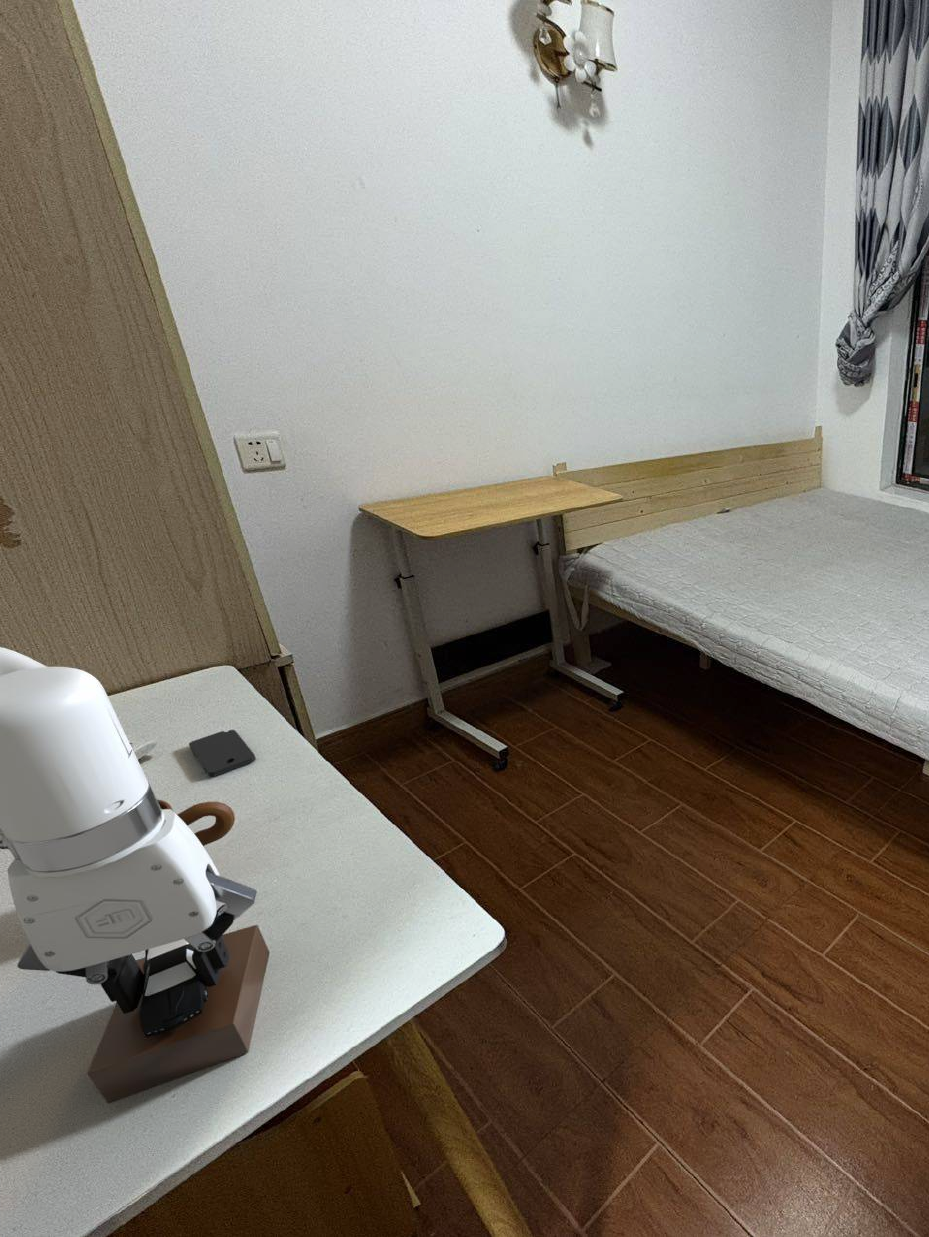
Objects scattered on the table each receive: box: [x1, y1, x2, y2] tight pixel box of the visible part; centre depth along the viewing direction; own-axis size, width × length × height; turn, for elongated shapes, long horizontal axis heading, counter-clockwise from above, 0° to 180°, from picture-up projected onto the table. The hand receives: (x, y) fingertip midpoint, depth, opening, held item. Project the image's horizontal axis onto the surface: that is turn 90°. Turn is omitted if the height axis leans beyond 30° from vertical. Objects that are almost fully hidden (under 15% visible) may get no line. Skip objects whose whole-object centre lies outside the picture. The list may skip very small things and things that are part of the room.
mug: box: [157, 799, 236, 847], centre depth 71 cm, size 12×8×9 cm, turn 124°
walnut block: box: [86, 924, 270, 1104], centre depth 59 cm, size 9×11×4 cm
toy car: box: [137, 939, 208, 1038], centre depth 58 cm, size 10×4×3 cm, turn 40°
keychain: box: [188, 729, 257, 778], centre depth 92 cm, size 5×1×10 cm
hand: (176, 983), depth 58 cm, fingers closed on toy car, 4 cm apart
